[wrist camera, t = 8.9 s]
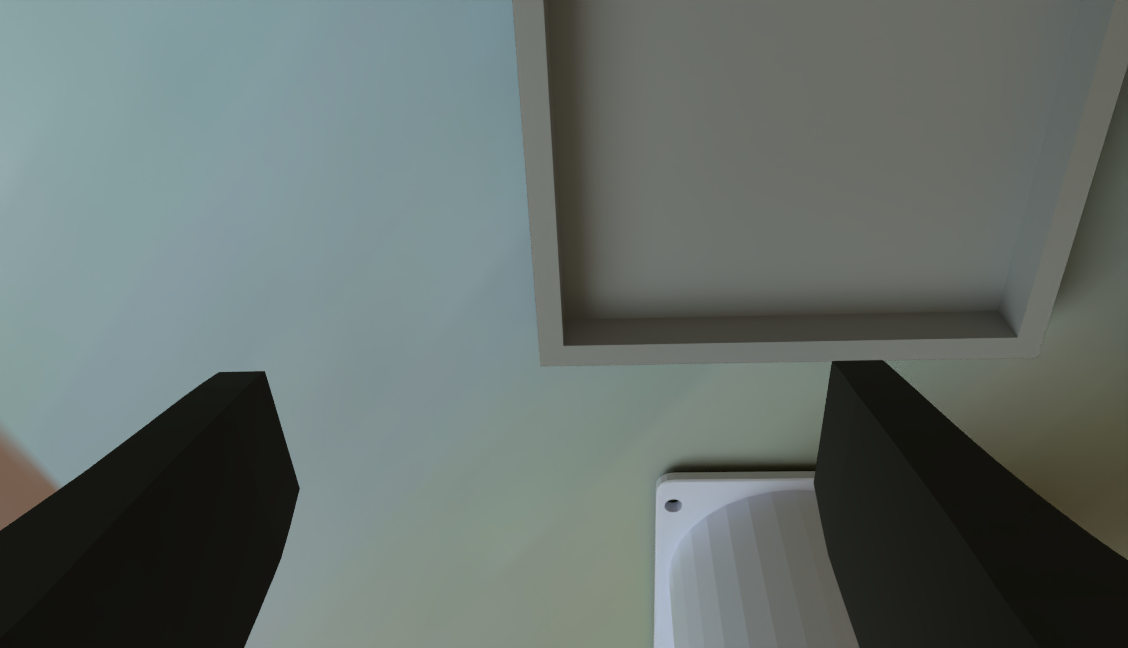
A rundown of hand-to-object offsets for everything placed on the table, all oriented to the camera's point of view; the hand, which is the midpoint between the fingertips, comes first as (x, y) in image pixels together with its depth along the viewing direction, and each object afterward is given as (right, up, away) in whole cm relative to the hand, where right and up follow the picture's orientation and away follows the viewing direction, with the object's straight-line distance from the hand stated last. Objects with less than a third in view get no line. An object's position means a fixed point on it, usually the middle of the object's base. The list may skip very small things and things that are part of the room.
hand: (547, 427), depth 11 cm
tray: (+5, +6, +8) cm, 12 cm away
